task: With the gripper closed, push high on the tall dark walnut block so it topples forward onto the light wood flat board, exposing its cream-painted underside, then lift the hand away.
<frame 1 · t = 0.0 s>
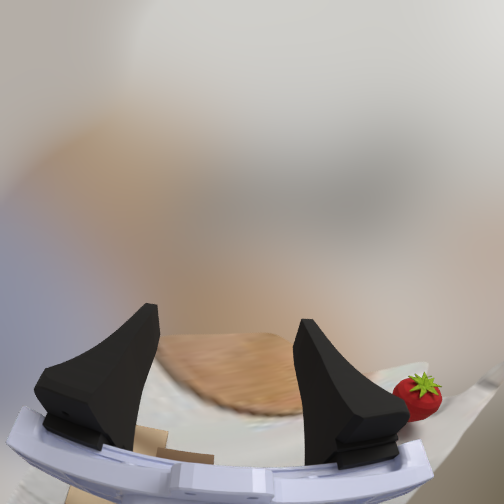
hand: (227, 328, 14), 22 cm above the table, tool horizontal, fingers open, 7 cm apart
walnut block: (189, 502, 18), on the table
strawberry: (399, 422, 30), on the table
light wood flat board: (114, 485, 18), on the table
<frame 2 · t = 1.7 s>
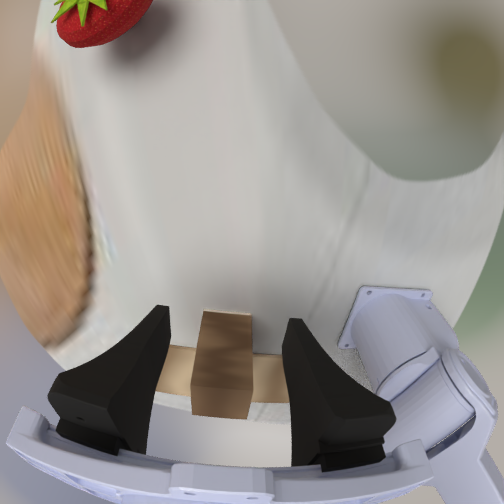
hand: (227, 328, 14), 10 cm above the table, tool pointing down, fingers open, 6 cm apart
walnut block: (226, 328, 27), on the table
strawberry: (135, 21, 14), on the table
light wood flat board: (221, 376, 30), on the table
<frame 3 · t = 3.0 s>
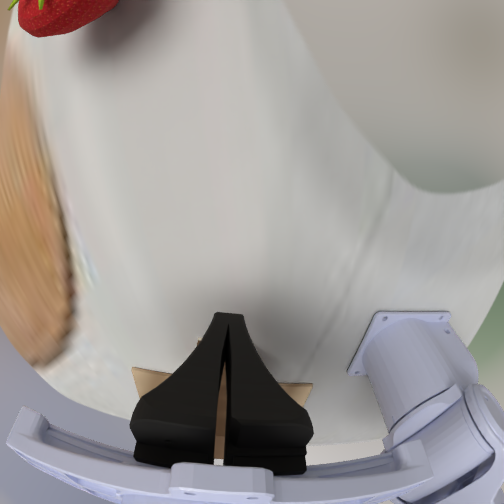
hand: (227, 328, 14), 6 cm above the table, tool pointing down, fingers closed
walnut block: (223, 358, 23), on the table
strawberry: (115, 5, 11), on the table
light wood flat board: (219, 404, 27), on the table
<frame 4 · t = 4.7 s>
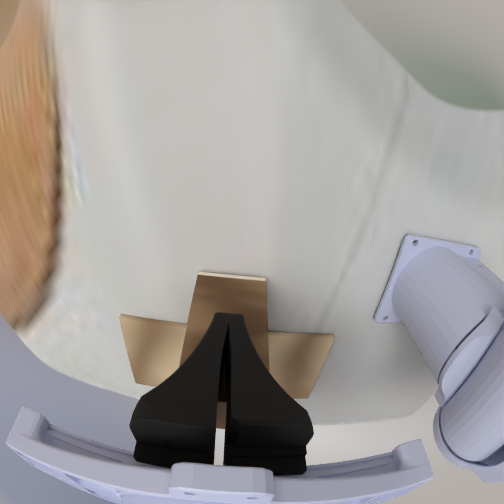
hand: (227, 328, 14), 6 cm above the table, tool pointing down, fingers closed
walnut block: (229, 298, 20), on the table, tilted 10°
light wood flat board: (223, 364, 24), on the table
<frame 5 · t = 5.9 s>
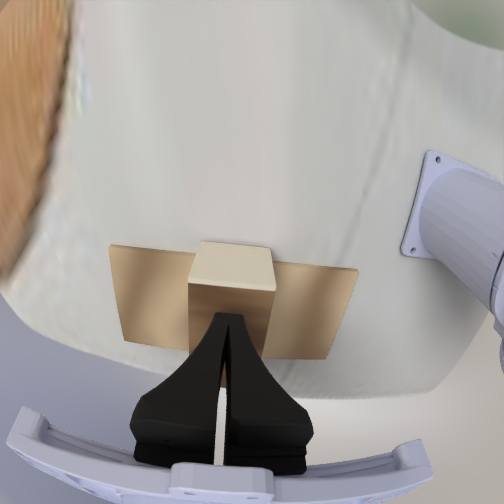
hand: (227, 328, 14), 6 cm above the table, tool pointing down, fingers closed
walnut block: (233, 261, 16), point 3 cm above the table, tilted 90°, touching light wood flat board
light wood flat board: (228, 310, 21), on the table
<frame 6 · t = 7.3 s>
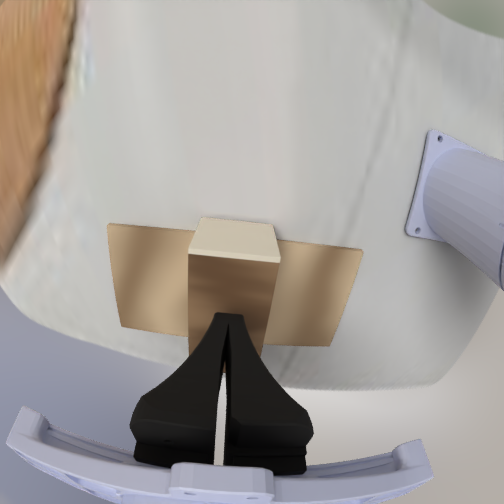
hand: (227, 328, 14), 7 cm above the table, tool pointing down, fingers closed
walnut block: (236, 234, 16), point 3 cm above the table, tilted 90°, touching light wood flat board
light wood flat board: (229, 292, 20), on the table
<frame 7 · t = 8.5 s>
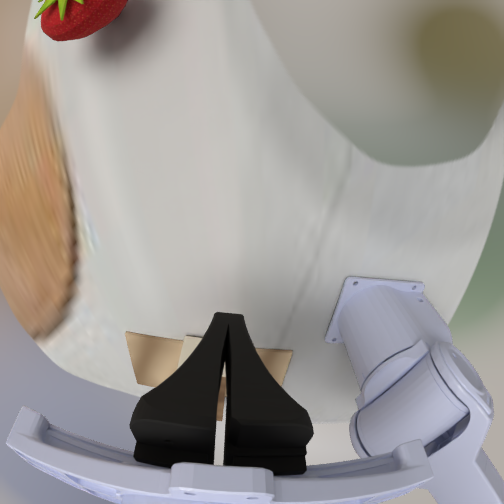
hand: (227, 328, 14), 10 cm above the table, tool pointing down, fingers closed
walnut block: (204, 354, 25), point 3 cm above the table, tilted 90°, touching light wood flat board
strawberry: (118, 15, 14), on the table
light wood flat board: (206, 370, 30), on the table
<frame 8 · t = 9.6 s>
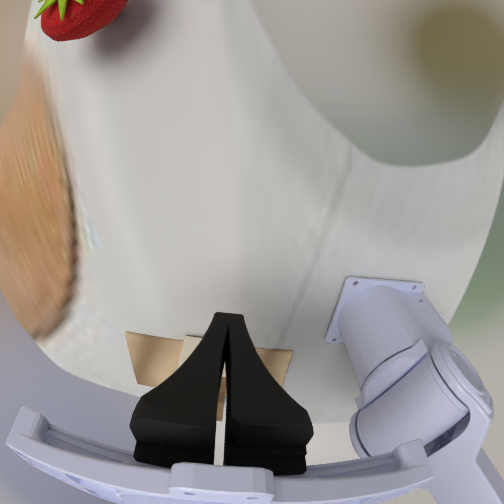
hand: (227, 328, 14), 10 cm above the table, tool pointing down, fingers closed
walnut block: (204, 354, 25), point 3 cm above the table, tilted 90°, touching light wood flat board
strawberry: (118, 15, 14), on the table
light wood flat board: (206, 370, 30), on the table
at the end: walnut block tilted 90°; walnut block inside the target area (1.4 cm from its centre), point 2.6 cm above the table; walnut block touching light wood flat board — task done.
